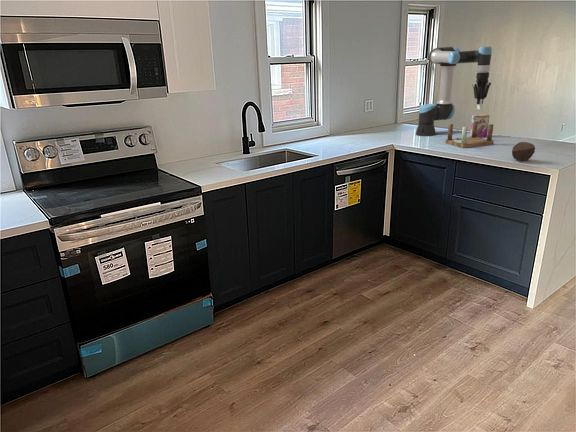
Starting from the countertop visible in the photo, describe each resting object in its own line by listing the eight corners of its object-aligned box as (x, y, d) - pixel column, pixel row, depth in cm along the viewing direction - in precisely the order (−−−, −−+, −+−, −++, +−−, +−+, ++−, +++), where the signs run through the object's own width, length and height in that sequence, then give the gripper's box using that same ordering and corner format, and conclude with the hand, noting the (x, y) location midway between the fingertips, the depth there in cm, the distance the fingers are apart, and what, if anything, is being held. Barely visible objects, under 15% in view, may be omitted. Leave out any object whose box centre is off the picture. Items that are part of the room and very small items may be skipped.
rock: (514, 155, 238) (507, 142, 244) (512, 166, 247) (505, 154, 252) (537, 149, 236) (530, 136, 242) (534, 160, 244) (527, 148, 250)
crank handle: (453, 141, 293) (454, 125, 289) (457, 140, 293) (458, 125, 290) (462, 144, 283) (464, 127, 279) (466, 143, 284) (468, 127, 280)
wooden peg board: (445, 143, 302) (446, 124, 297) (474, 139, 307) (476, 121, 302) (462, 148, 283) (464, 128, 279) (493, 144, 289) (495, 124, 284)
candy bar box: (471, 138, 313) (473, 115, 308) (469, 136, 318) (471, 114, 312) (487, 137, 312) (489, 115, 306) (485, 136, 317) (487, 114, 311)
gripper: (487, 71, 278) (483, 107, 286) (470, 72, 275) (467, 109, 283) (495, 71, 271) (491, 108, 279) (478, 72, 268) (474, 110, 276)
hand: (479, 109), depth 281 cm, fingers closed
